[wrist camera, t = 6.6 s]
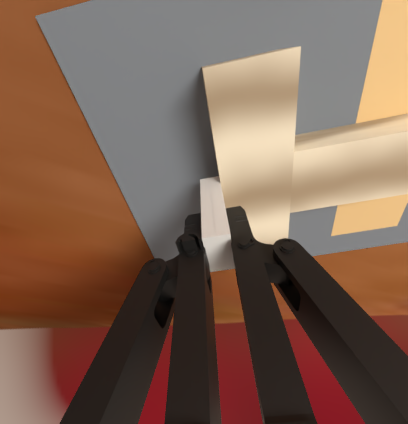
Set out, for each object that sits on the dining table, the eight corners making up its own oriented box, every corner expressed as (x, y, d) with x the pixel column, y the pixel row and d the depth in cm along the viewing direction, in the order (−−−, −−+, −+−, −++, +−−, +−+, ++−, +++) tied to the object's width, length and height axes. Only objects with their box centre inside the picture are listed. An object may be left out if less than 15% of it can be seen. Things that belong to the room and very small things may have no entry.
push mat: (37, 17, 12) (35, 16, 12) (830, -205, 9) (842, -210, 9) (164, 276, 26) (164, 278, 26) (487, 228, 23) (489, 229, 22)
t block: (201, 67, 13) (202, 68, 11) (458, 8, 12) (524, -5, 10) (229, 244, 23) (233, 266, 20) (376, 222, 21) (399, 243, 19)
